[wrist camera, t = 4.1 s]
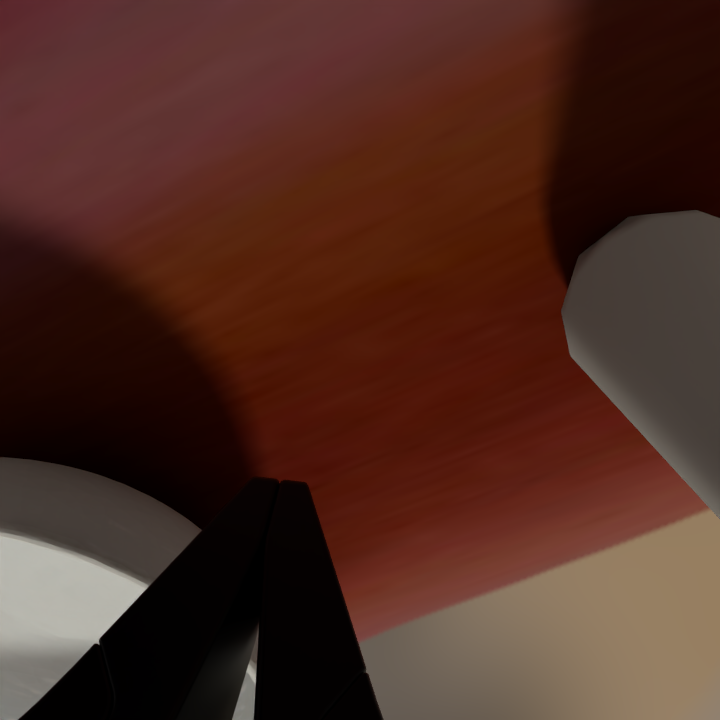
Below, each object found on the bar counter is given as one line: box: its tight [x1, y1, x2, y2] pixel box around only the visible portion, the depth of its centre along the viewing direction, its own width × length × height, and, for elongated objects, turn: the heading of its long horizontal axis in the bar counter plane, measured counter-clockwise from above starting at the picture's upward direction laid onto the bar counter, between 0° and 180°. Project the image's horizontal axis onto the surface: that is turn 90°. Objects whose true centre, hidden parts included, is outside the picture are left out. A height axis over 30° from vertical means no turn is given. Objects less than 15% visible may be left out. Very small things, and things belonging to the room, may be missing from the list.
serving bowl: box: [0, 457, 259, 720], centre depth 26 cm, size 21×21×7 cm
